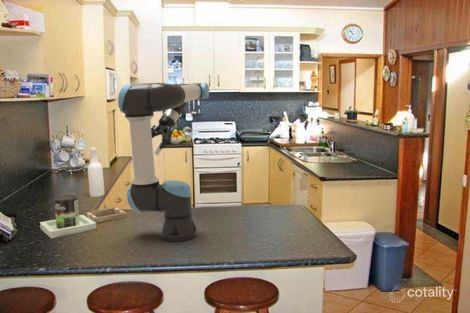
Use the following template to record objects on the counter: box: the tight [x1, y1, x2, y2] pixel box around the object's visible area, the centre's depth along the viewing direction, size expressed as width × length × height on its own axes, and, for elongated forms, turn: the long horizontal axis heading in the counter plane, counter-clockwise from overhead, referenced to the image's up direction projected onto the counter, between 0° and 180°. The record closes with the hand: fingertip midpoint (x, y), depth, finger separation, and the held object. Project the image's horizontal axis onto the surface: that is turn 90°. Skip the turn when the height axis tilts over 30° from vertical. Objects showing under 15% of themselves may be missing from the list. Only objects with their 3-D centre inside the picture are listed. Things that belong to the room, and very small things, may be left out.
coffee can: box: [53, 194, 80, 229], centre depth 211 cm, size 10×10×14 cm
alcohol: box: [87, 146, 105, 198], centre depth 282 cm, size 9×9×30 cm
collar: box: [85, 206, 128, 224], centre depth 230 cm, size 15×15×2 cm
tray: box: [39, 214, 97, 240], centre depth 212 cm, size 20×20×3 cm
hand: (146, 152), depth 220 cm, fingers open, 13 cm apart
